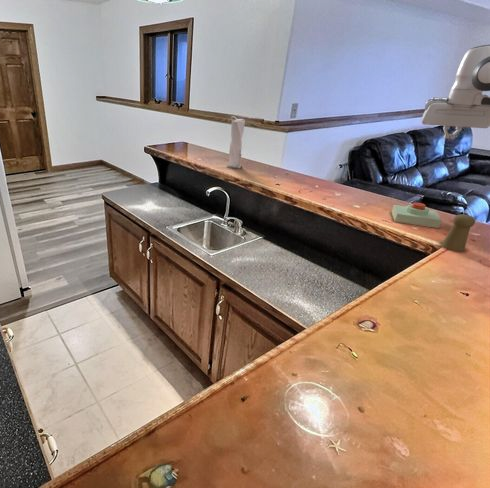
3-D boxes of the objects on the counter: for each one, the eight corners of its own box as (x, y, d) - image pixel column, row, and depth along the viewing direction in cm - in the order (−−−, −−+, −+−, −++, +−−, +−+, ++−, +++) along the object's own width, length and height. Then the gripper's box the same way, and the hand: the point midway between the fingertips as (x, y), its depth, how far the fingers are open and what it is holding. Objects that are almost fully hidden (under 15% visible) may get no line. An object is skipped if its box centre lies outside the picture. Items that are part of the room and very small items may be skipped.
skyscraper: (225, 167, 203) (230, 116, 191) (227, 164, 210) (232, 115, 198) (240, 168, 201) (245, 117, 188) (241, 165, 208) (247, 115, 195)
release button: (423, 207, 133) (424, 203, 132) (425, 211, 130) (426, 206, 129) (410, 206, 135) (412, 201, 134) (412, 209, 131) (414, 205, 131)
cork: (446, 250, 112) (460, 218, 107) (438, 242, 117) (450, 211, 112) (468, 252, 110) (483, 220, 105) (458, 244, 116) (472, 213, 111)
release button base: (432, 218, 136) (437, 206, 134) (438, 228, 127) (443, 215, 125) (391, 212, 141) (395, 200, 139) (394, 221, 133) (398, 209, 130)
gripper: (429, 97, 123) (416, 137, 129) (503, 100, 116) (485, 143, 122) (426, 96, 128) (413, 135, 134) (496, 99, 121) (479, 140, 127)
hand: (448, 139), depth 128 cm, fingers closed
